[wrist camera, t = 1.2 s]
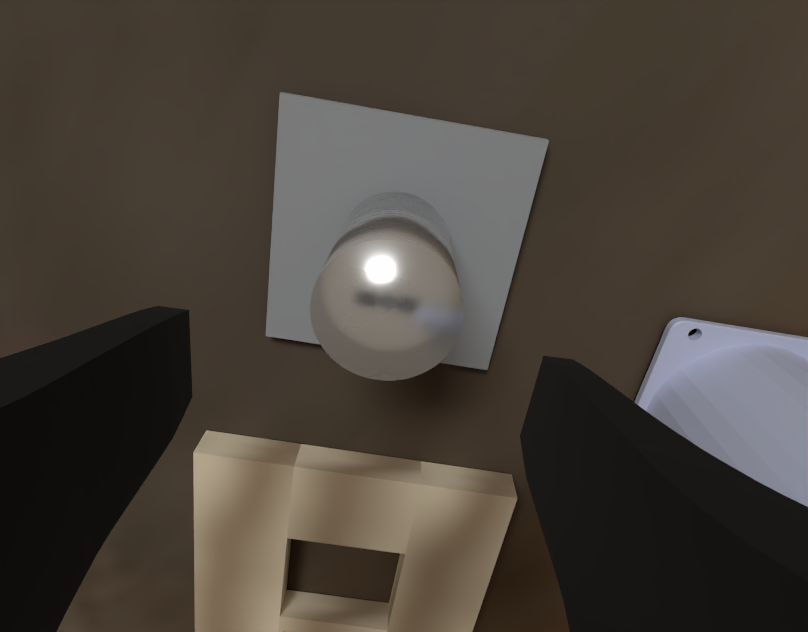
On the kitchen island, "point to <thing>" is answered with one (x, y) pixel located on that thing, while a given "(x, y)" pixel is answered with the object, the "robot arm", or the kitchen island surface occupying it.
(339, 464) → the hole plate
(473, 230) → the pad
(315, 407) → the kitchen island surface
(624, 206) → the kitchen island surface
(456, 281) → the steel peg
